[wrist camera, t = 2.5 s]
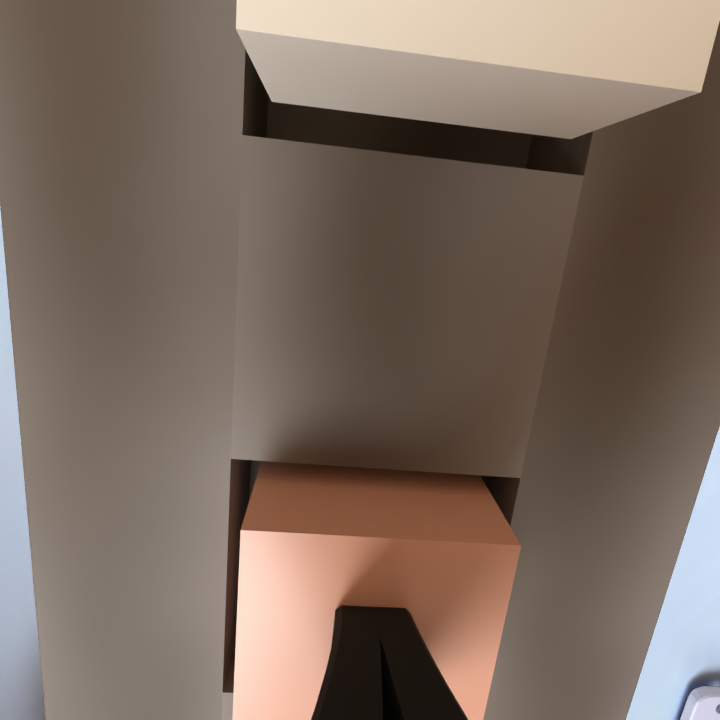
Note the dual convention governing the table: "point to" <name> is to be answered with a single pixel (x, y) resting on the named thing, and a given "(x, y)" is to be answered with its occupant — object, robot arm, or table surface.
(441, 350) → the key bed
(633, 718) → the table surface
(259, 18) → the cream key
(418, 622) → the terracotta key
